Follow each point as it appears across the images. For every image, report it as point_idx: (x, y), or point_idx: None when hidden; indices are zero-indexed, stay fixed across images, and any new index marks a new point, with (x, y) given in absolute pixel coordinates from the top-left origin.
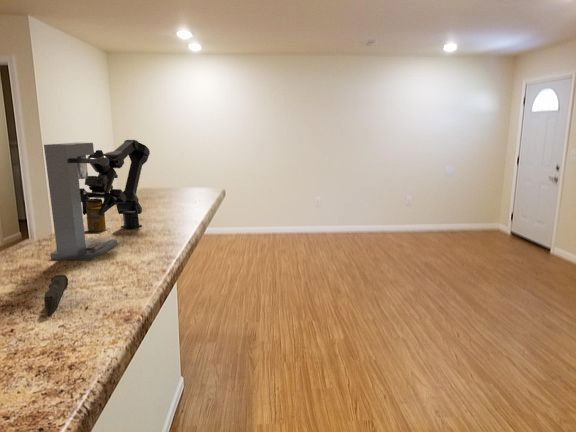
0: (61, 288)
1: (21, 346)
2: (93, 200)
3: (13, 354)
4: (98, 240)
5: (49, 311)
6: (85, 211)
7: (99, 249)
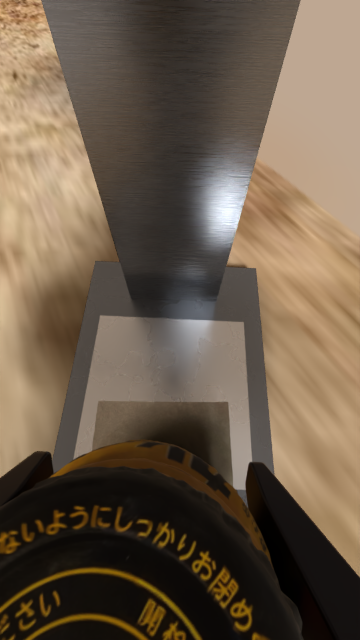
0: None
1: None
2: (40, 525)
3: None
4: None
5: None
6: (256, 513)
7: (83, 320)
